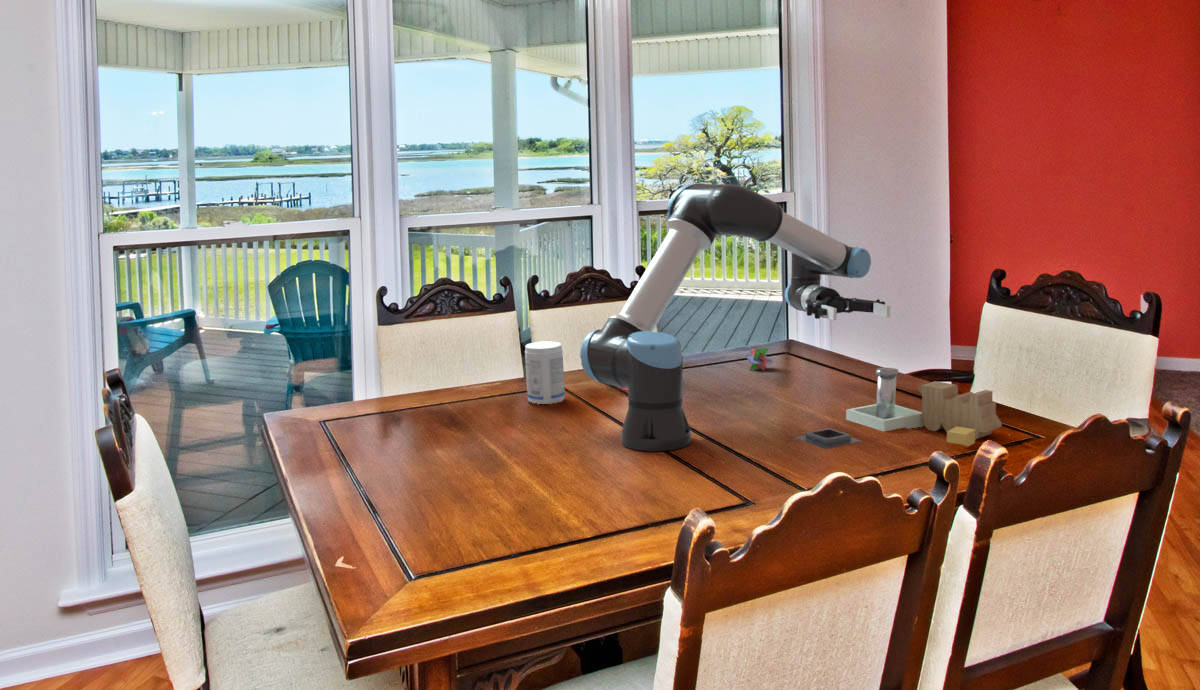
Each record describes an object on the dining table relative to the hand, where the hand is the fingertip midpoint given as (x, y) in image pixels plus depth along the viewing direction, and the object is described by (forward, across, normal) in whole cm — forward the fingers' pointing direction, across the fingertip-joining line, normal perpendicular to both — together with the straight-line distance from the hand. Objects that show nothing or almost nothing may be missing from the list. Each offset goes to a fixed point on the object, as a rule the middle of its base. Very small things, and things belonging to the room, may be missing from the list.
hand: (862, 313), depth 235 cm
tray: (+11, -1, -24) cm, 26 cm away
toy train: (+22, -12, -24) cm, 35 cm away
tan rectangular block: (+30, -8, -24) cm, 39 cm away
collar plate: (+20, +18, -24) cm, 36 cm away
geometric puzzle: (-52, +4, -24) cm, 57 cm away
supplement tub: (-36, +68, -25) cm, 81 cm away
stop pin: (+11, -1, -23) cm, 26 cm away
